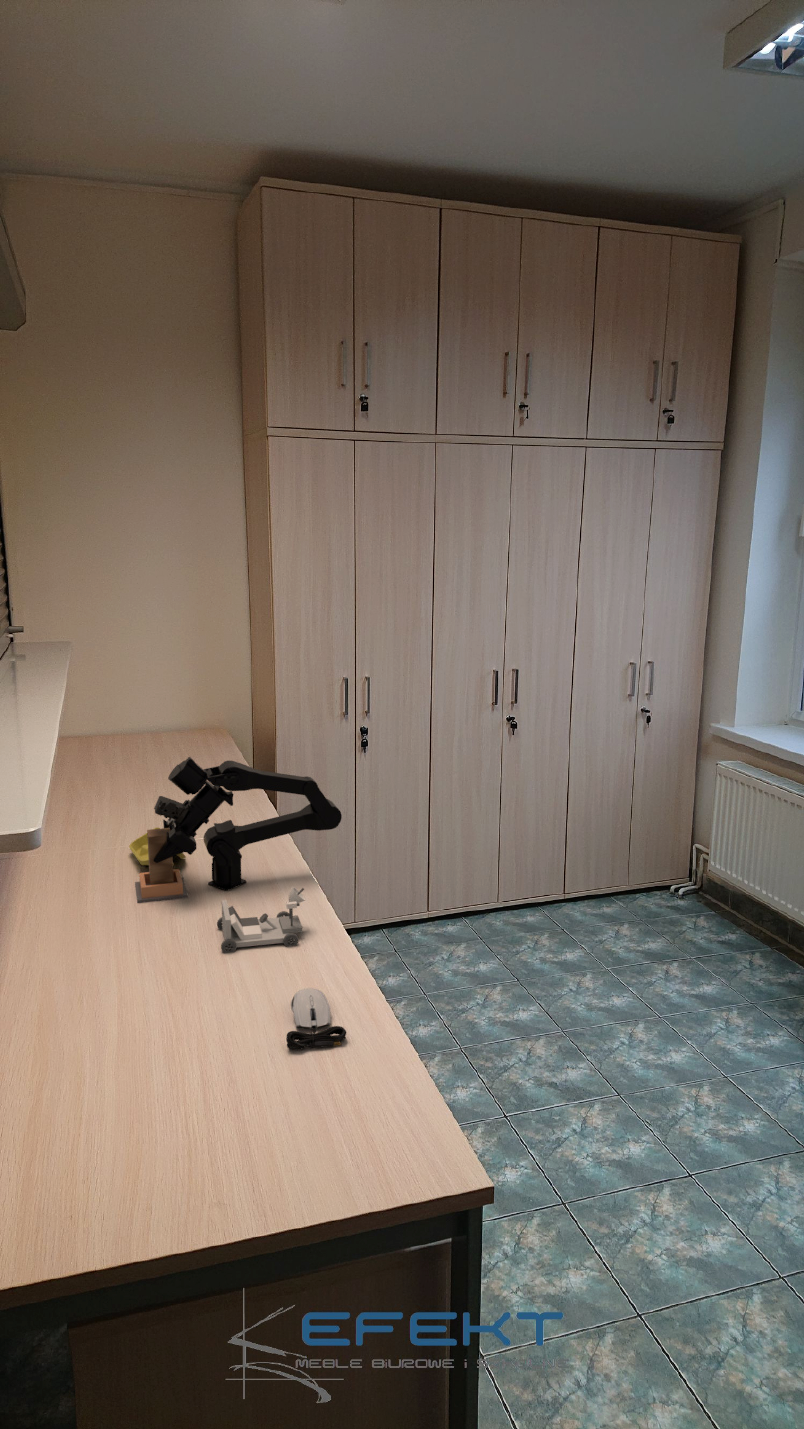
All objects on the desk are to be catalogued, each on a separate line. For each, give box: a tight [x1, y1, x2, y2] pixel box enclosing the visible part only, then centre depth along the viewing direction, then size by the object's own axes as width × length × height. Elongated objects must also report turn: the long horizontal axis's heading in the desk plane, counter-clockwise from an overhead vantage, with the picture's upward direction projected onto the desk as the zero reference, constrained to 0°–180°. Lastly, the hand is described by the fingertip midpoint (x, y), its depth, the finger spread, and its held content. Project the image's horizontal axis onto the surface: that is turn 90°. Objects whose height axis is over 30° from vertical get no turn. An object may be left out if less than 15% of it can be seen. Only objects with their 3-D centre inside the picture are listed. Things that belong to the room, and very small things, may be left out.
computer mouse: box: [285, 987, 347, 1051], centre depth 160 cm, size 10×18×4 cm, turn 13°
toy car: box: [216, 886, 306, 954], centre depth 191 cm, size 18×10×12 cm
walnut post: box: [146, 827, 174, 885], centre depth 212 cm, size 5×5×12 cm
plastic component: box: [128, 826, 187, 866], centre depth 230 cm, size 20×7×10 cm
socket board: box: [134, 868, 189, 904], centre depth 213 cm, size 11×11×3 cm
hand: (154, 857), depth 211 cm, fingers closed on walnut post, 5 cm apart
